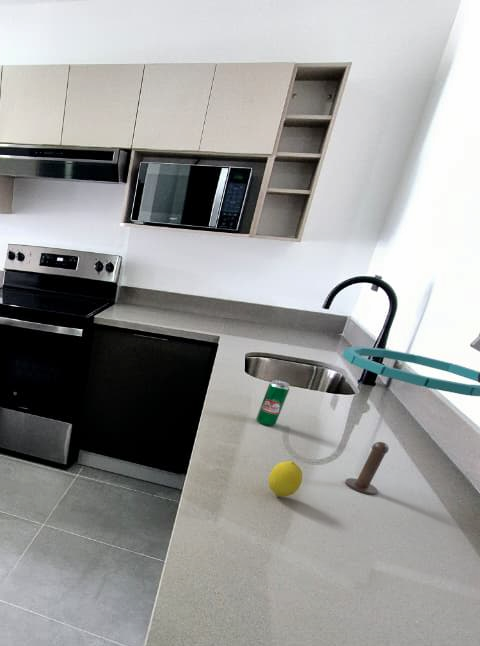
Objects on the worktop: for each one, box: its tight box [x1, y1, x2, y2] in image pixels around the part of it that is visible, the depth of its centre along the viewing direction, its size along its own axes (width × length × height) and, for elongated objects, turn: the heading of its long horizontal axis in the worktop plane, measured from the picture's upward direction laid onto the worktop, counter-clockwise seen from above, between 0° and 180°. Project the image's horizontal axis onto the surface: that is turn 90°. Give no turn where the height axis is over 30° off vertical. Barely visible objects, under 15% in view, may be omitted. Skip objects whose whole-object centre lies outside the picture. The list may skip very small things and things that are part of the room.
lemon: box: [268, 460, 303, 498], centre depth 99 cm, size 6×6×8 cm
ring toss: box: [344, 441, 390, 496], centre depth 107 cm, size 6×6×11 cm
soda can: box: [255, 379, 290, 427], centre depth 137 cm, size 5×5×12 cm
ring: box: [341, 345, 480, 397], centre depth 99 cm, size 26×26×2 cm
